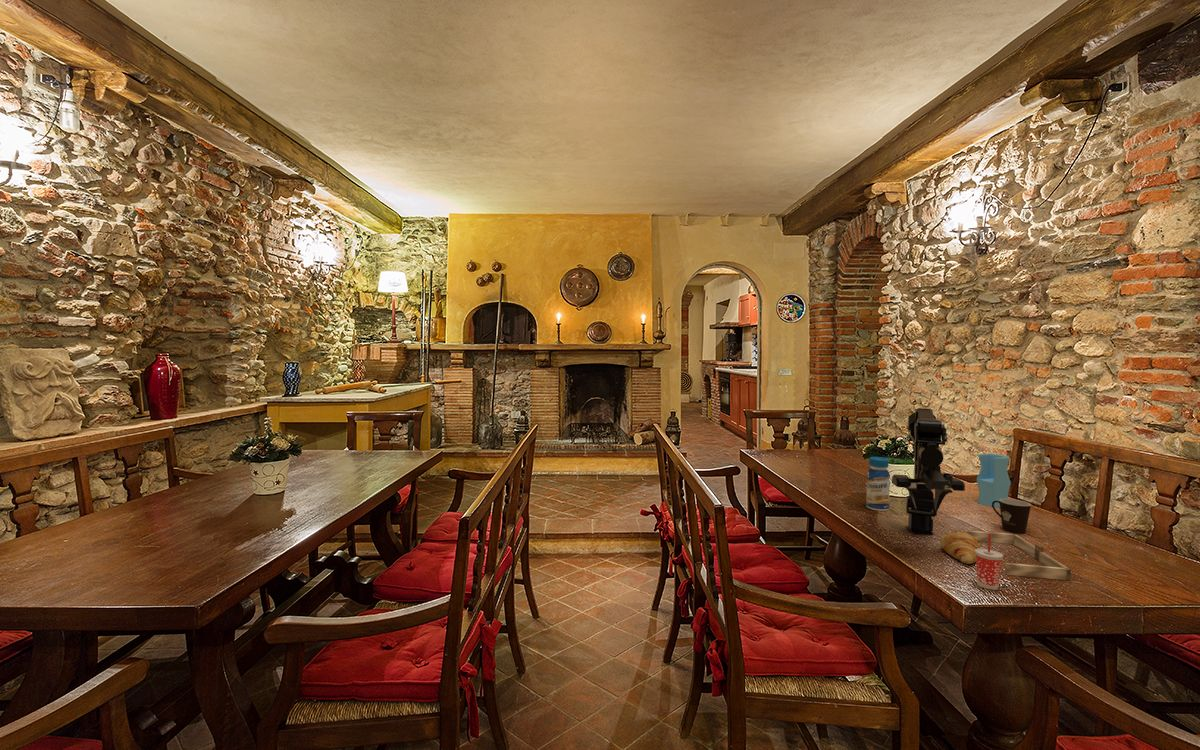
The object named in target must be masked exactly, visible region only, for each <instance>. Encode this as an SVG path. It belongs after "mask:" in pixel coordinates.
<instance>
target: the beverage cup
mask: <svg viewBox="0 0 1200 750" xmlns="http://www.w3.org/2000/svg"><path fill="white" fill-rule="evenodd" d="M990 540H991V534H989V535H988V542H987V548H981V547H980V548H979V549H975V554H976V562H975V563H976V565H975V566H976V584H977V586H979V587H981V588H984V589H987V590H995V591H996V590H998V589H999V584H1000V578H1001V577H1000V576H1001V568H1002V560H1004V554H1003V553H1001V552H999V551H997V550H994V549H991V542H990Z"/></svg>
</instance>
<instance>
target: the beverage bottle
mask: <svg viewBox="0 0 1200 750" xmlns="http://www.w3.org/2000/svg"><path fill="white" fill-rule="evenodd" d="M889 463H890V462H889V458H887V457H882V456H871V457H869V459H868V465H869V468H868V470H867V472H866V476H867V478H866V479H865V482H866V498H865V499H866V501H865V506H866V508H868V509H870V510H873V511H878V512H884V511H889V509H890V487H891V481H890V478H891V474H890V471H889V470H888V468H889Z"/></svg>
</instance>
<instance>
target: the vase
mask: <svg viewBox="0 0 1200 750" xmlns="http://www.w3.org/2000/svg"><path fill="white" fill-rule="evenodd" d="M977 456H978V458H979V462H980V469H979V474H978V475H977V477H976V484H977V488H978V500H977V503H978V504H981V505H984V506H987V507H989V508H992V502H993V501H999V500H1000V499H1009V490H1010V487H1011V486H1012V484H1011V483H1012V482H1011V480H1010V477H1009V473H1008V465H1009V461H1010V458H1011V457H1010V456H1006V455H1002V454H997V453H978V454H977ZM994 508H995V509H997V508H999V509H1000V504H999V503H998V502H995V503H994Z"/></svg>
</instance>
